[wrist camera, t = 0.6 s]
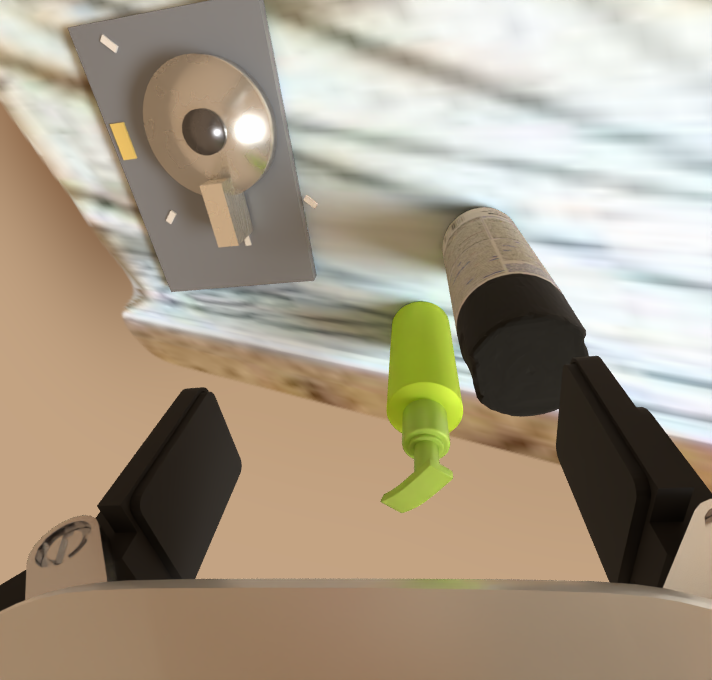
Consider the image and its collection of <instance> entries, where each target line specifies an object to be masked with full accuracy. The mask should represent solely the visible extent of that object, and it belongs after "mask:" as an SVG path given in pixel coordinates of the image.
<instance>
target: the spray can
mask: <svg viewBox="0 0 712 680" xmlns="http://www.w3.org/2000/svg"><path fill="white" fill-rule="evenodd" d="M442 250H443V257H444V263H445V269H446V274H447V280H448V286H449V292H450V297H451V303H452V308H453V314H454V320H455V325H456V331H457V336H458V340H459V345H460V350H461V354H462V357H463V359H464V361H465V363H466V364H467V366H468V368H469V370H470V373H471V375H472V379H473V385H474V388H475V392H476V395H477V398H478V399H479V401H480V402H481V403H482V404H484V405H485V406H487V407H488V408H490V409H491V410H494V411H497V412H500V413H503V414H508V415H511V416H534V415H540V414H545V413H548V412H552V411H555V410H557V409H559V405H560V393H561V382H562V371H563V366H564V365H565V364H570V362H571V360H572V358H577V357H589V355H588V350H587V348H586V346H585V344H584V338H585V336H586V330H585V329H584V327H583V326H582V324H581V323H580V321H579V319H578V318H577V317H576V315H575V313H574V311H573V310H572V308H571V307H570V305H569V304H568V302H567V300H566V299H565V297H564V295H563V294H562V292H561V290H560V289H559V288H558V287H557V285H556V284H555V282H554V281H553V279H552V278H551V276H550V275H549V273H548V272H547V270H546V269H545V268H544V266H543V265H542V263H541V262H540V260H539V259H538V257H537V256H536V254H535V253H534V251H533V250H532V249H531V247H530V246H529V244H528V243H527V241H526V240H525V238H524V237H523V235H522V234H521V232H520V231H519V230H518V228H517V227H516V225H515V224H514V222H513V221H512V220H511V219H510V217H508V216H507V215H506V214H505V213H503V212H501V211H499V210H496V209H493V208H487V207H481V208H475V209H471V210H469V211H467V212H465V213H463V214H461V215H460V216H458V217H457V218H456V219H455V220H454V221H453V222H452V223H451V224H450V225H449V227H448V229H447V231H446V233H445V236H444V239H443V246H442Z"/></svg>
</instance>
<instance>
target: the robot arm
mask: <svg viewBox="0 0 712 680" xmlns="http://www.w3.org/2000/svg"><path fill="white" fill-rule="evenodd" d="M556 451H557V456H558V459H559V462H560V464H561V466H562V469H563V471H564V474H565V476H566V478H567V481H568V483H569V486H570V488H571V490H572V493H573V495H574V498H575V500H576V502H577V505H578V507H579V510H580V512H581V514H582V517H583V519H584V522H585V524H586V526H587V529H588V531H589V534H590V536H591V539H592V541H593V543H594V546H595V548H596V551H597V553H598V555H599V558H600V560H601V563H602V565H603V568H604V570H605V572H606V575H607V577H608V580H609V582H610V583H609V582H594V581H554V580H501V579H499V580H498V579H495V580H494V579H195V578H196V575H197V573H198V571H199V569H200V566H201V564H202V562H203V559H204V557H205V555H206V552H207V550H208V547H209V545H210V543H211V540H212V538H213V536H214V533H215V531H216V529H217V526H218V524H219V522H220V519H221V517H222V515H223V512H224V510H225V508H226V505H227V503H228V501H229V498H230V496H231V494H232V491H233V489H234V487H235V484H236V482H237V480H238V477H239V475H240V472H241V467H242V465H241V459H240V457H239V454H238V452H237V449H236V447H235V444H234V442H233V439H232V437H231V434H230V432H229V429H228V427H227V425H226V422H225V420H224V417H223V415H222V412H221V410H220V407H219V405H218V403H217V400H216V398H215V396H214V394H213V393H212V392H209V391H208V390H207V389H206V388H190V389H184V390H183V391H182V392H181V393H180V394H179V396H178V397H177V398H176V400H175V401H174V402H173V404H172V405H171V406H170V408H169V409H168V410H167V412H166V413H165V414H164V416H163V417H162V419H161V420H160V421H159V423H158V424H157V425H156V427H155V428H154V429H153V431H152V432H151V434H150V435H149V436H148V438H147V439H146V440H145V442H144V443H143V444H142V446H141V447H140V448H139V450H138V451H137V452H136V454H135V455H134V457H133V458H132V459H131V461H130V462H129V463H128V465H127V466H126V467H125V469H124V470H123V471H122V473H121V474H120V476H119V477H118V478H117V480H116V481H115V482H114V484H113V485H112V487H111V488H110V489H109V490H108V492H107V493H106V494H105V496H104V497H103V499H102V500H101V501H100V503H99V504H98V505H97V507H98V508H99V510H100V513H99V514H98V516H97V517H96V518H94V517H92V516H86V515H82V516H77V517H73V518H71V519H68V520H66V521H64V522H62V523H60V524H58V525H57V526H55V527H54V528H52V529H51V530H50V531H48V533H46V534H45V535H44V536H42V538H41V539H40V540H39V541H38V542H37V543H36V544H35V545H34V547H33V549H32V550H31V552H30V554H29V556H28V560H27V569H26V570H25V571H23V572H21V573H20V574H18V575H16V576H15V577H13V578H11V579H10V580H8V581H6V582H5V583H3V584H1V585H0V680H712V493H711V492H710V490H709V489H708V488H707V486H706V485H705V484H704V482H703V481H702V480H701V479H700V477H699V476H698V475H697V473H696V472H695V471H694V469H693V468H692V467H691V465H690V464H689V463H688V461H687V460H686V459H685V457H684V456H683V455H682V453H681V452H680V451H679V450H678V448H677V447H676V446H675V444H674V443H673V442H672V440H671V439H670V438H669V436H668V435H667V434H666V432H665V431H664V430H663V428H662V427H661V426H660V424H659V423H658V422H657V421H656V419H655V418H654V417H653V415H652V414H651V413H650V412H649V411H648V410H647V409H646V408H643V407H636V406H635V405H634V403H633V402H632V401H631V399H630V398H629V397H628V395H627V394H626V392H625V391H624V390H623V388H622V387H621V386H620V384H619V383H618V381H617V380H616V379H615V377H614V376H613V375H612V373H611V372H610V370H609V369H608V368H607V366H606V365H605V363H604V362H603V361H602V359H601V358H600V357H599V356H589V357H577V358H572V360H571V362H570V364H565V365H564V366H563V371H562V382H561V393H560V405H559V416H558V428H557V439H556Z"/></svg>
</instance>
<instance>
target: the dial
mask: <svg viewBox="0 0 712 680" xmlns="http://www.w3.org/2000/svg"><path fill="white" fill-rule="evenodd" d="M143 122H144V127H145V132H146V135H147V139H148V141H149V144H150V146H151V149H152V151H153V153H154V154H155V156H156V158H157V159H158V161H159V162H160V164H161V165H162V167H163V168H164V169H165V170H166V171H167V173H168V174H169V175H170V176H171V177H172V178H173V179H175V180H176V181H177V182H178V183H180V184H181V185H183V186H184V187H186V188H187V189H189V190H191V191H193V192H195V193H198V194H201V195H202V196H203V199H204V202H205V206H206V209H207V212H208V215H209V218H210V222H211V225H212V228H213V231H214V235H215V238H216V241H217V244H218V247H229V246H239V245H240V244H241V243H242V242H243V241H244V240H245V239H246V238H247V236H248V235H249V234H250V233H251V232H252V231H253V227H252V223H251V219H250V215H249V211H248V208H247V204H246V200H245V196H244V191H246V190H247V189H248V188H250V187H251V186H252V185H254V184H255V183H256V182H258V181H259V180H260V179H261V178H262V177H263V176H264V175H265V173H266V172H267V171H268V169H269V167H270V165H271V163H272V161H273V158H274V156H275V151H276V147H277V126H276V120H275V116H274V112H273V109H272V107H271V104H270V101H269V100H268V98H267V96H266V94H265V92H264V91H263V89H262V88H261V86H260V85H259V83H258V82H257V81H256V80H255V79H254V77H253V76H251V75H250V74H249V73H248V72H247V71H246V70H245V69H243V68H242V67H241V66H239V65H238V64H236V63H234V62H232V61H231V60H228V59H226V58H223V57H220V56H215V55H207V54H184V55H180V56H177V57H175V58H172V59H170V60H168V61H167V62H166V63H164V64H163V65H162V66H161V67H160V68H159V69H158V70H157V71H156V72H155V73H154V75H153V76H152V78H151V80H150V82H149V84H148V86H147V89H146V92H145V96H144V101H143Z"/></svg>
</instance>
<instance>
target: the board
mask: <svg viewBox="0 0 712 680" xmlns="http://www.w3.org/2000/svg"><path fill="white" fill-rule="evenodd" d="M68 30H69V33H70V35H71V38H72V40H73V43H74V45H75V48H76V51H77V53H78V56H79V58H80V61H81V63H82V66H83V68H84V71H85V73H86V76H87V79H88V81H89V84H90V86H91V89H92V91H93V94H94V96H95V99H96V101H97V104H98V107H99V109H100V112H101V114H102V117H103V119H104V122H105V124H106V127H107V129H108V132H109V135H110V137H111V140H112V142H113V145H114V147H115V150H116V152H117V155H118V157H119V160H120V163H121V165H122V168H123V170H124V173H125V175H126V178H127V180H128V183H129V185H130V188H131V191H132V193H133V196H134V198H135V201H136V203H137V206H138V208H139V211H140V214H141V216H142V219H143V221H144V224H145V226H146V229H147V231H148V234H149V236H150V239H151V242H152V244H153V247H154V249H155V252H156V254H157V257H158V259H159V262H160V264H161V267H162V270H163V272H164V275H165V277H166V280H167V282H168V285H169V287H170V290H171V292H176V291H188V290H201V289H213V288H226V287H238V286H251V285H263V284H276V283H288V282H301V281H314V280H315V277H316V271H315V266H314V261H313V256H312V250H311V245H310V240H309V235H308V230H307V224H306V219H305V214H304V209H303V204H302V199H301V193H300V188H299V183H298V178H297V173H296V167H295V162H294V157H293V152H292V147H291V141H290V136H289V131H288V126H287V121H286V116H285V110H284V105H283V100H282V95H281V90H280V84H279V79H278V74H277V69H276V64H275V58H274V53H273V48H272V43H271V38H270V33H269V27H268V22H267V17H266V12H265V7H264V1H263V0H210V1H204V2H199V3H194V4H189V5H183V6H178V7H173V8H168V9H163V10H157V11H152V12H147V13H142V14H137V15H131V16H126V17H121V18H116V19H111V20H105V21H100V22H95V23H90V24H84V25H79V26H74V27H69V28H68ZM184 54H207V55H215V56H220V57H223V58H226V59H228V60H231V61H232V62H234V63H236V64H238V65H239V66H241V67H242V68H243V69H245V70H246V71H247V72H248V73H249V74H250V75H251V76H253V77H254V79H255V80H256V81H257V82H258V83H259V85H260V86H261V88H262V89H263V91H264V92H265V94H266V96H267V98H268V100H269V101H270V104H271V107H272V109H273V112H274V116H275V120H276V126H277V147H276V151H275V156H274V158H273V161H272V163H271V165H270V167H269V169H268V171H267V172H266V173H265V175H264V176H263V177H262V178H261V179H260V180H259V181H258V182H256V183H255V184H254V185H252V186H251V187H250V188H248V189H247V190H246V191H244V196H245V200H246V204H247V208H248V211H249V215H250V219H251V223H252V227H253V231H252V232H251V233H250V234H249V235H248V236H247V238H246V239H245V240H244V241H243V242H242V243H241V244H240V245H239V246H229V247H218V244H217V241H216V238H215V235H214V231H213V228H212V225H211V222H210V218H209V215H208V212H207V209H206V206H205V202H204V199H203V196H202V195H201V194H198V193H195V192H193V191H191V190H189V189H187V188H186V187H184V186H183V185H181V184H180V183H178V182H177V181H176V180H175V179H173V178H172V177H171V176H170V175H169V174H168V173H167V171H166V170H165V169H164V168H163V167H162V165H161V164H160V162H159V161H158V159H157V158H156V156H155V154H154V153H153V151H152V149H151V146H150V144H149V141H148V139H147V135H146V132H145V127H144V122H143V101H144V96H145V92H146V89H147V86H148V84H149V82H150V80H151V78H152V76H153V75H154V73H155V72H156V71H157V70H158V69H159V68H160V67H161V66H162V65H163V64H164V63H166V62H167V61H168V60H170V59H172V58H175V57H177V56H180V55H184ZM304 201H305V202H306V203H308V204H309V205H310V206H312V207H313V208H314V209H315V208H316V206H317V205H318V203H317V202H315V201H314V200H313V199H312V198H310V197H309V196H308V195H306V197H305V198H304Z"/></svg>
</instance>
